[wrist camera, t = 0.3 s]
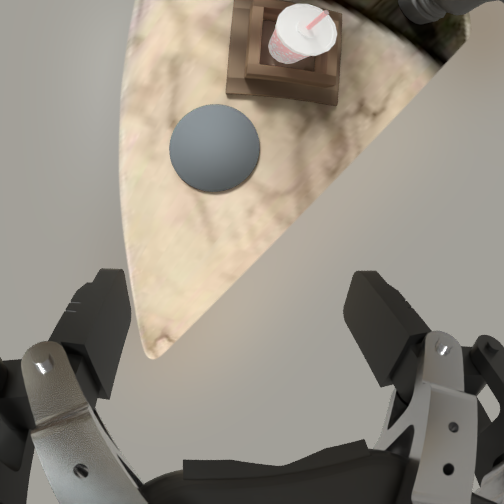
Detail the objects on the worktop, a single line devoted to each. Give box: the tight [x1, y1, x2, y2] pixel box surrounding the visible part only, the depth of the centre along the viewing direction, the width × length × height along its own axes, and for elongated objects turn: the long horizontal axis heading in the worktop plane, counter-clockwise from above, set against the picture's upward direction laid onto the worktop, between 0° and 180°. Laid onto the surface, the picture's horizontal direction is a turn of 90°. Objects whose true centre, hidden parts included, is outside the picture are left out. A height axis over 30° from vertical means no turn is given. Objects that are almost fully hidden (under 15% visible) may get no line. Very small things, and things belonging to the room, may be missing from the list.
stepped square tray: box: [226, 0, 342, 106], centre depth 26 cm, size 14×14×4 cm
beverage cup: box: [268, 4, 337, 64], centre depth 22 cm, size 6×6×14 cm
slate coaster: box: [169, 104, 259, 192], centre depth 33 cm, size 11×11×1 cm
